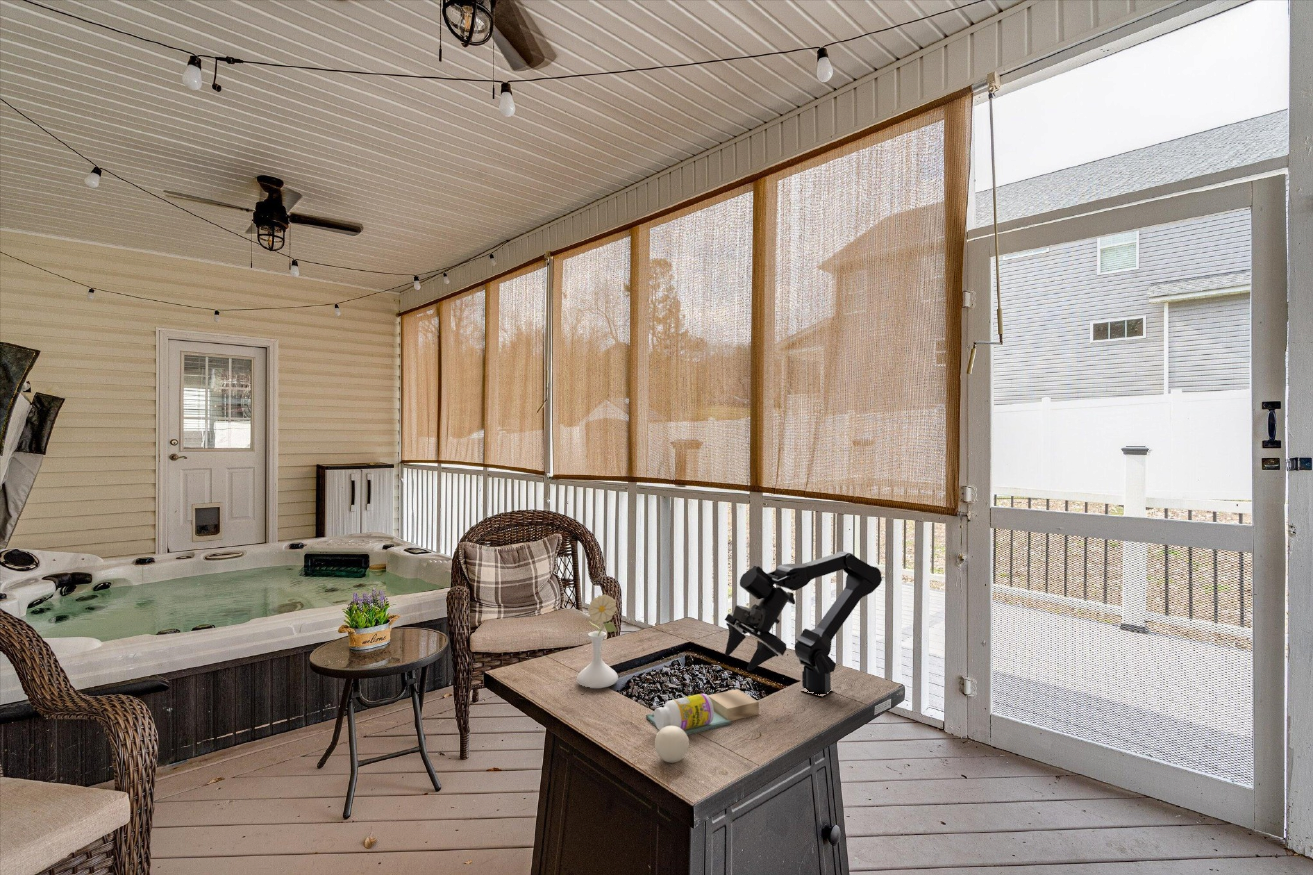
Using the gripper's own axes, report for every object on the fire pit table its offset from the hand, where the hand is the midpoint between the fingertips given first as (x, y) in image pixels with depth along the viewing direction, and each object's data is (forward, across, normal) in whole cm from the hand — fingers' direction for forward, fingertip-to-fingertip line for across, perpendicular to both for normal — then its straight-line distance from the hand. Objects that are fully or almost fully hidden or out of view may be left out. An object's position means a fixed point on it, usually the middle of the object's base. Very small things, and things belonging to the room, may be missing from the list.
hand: (737, 662), depth 154 cm
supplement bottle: (+12, +6, -6) cm, 15 cm away
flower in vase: (+26, -29, -11) cm, 40 cm away
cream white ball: (+24, +16, -16) cm, 34 cm away
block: (+10, +3, +4) cm, 11 cm away
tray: (+18, +2, -6) cm, 19 cm away
